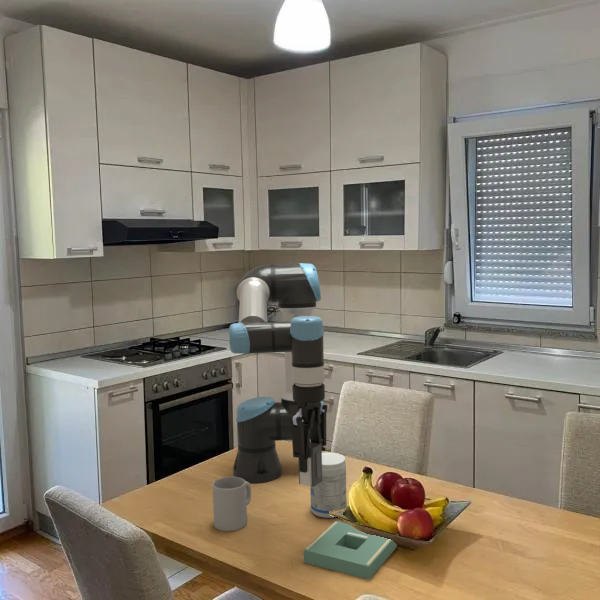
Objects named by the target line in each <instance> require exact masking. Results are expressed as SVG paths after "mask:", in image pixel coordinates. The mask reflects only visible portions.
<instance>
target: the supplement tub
mask: <svg viewBox="0 0 600 600" xmlns="http://www.w3.org/2000/svg"><path fill="white" fill-rule="evenodd" d="M309 487H310V489H309V490H310V510H311V512H312V514H314V515H315V516H316V517H319V518H322V519H323V518H324V519H334V517H332V516H330V515H329V511H333V510H337V509H342V508H345V507H346V508H347V462H346V457H345V455H342V454H341V453H337V452H326V451H324V452H322V482H320V483H319V484H317V485H316V486H314V487H312V486H309Z"/></svg>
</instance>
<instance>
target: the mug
mask: <svg viewBox="0 0 600 600" xmlns="http://www.w3.org/2000/svg"><path fill="white" fill-rule="evenodd" d="M211 486H212V504H213V505H212V506H213V509H212V510H213V526H214V528H215V529H217V530H218V531H221V532H235V531H239V530H242V529H244V528H245V527H246V526H247V524H248V510H247V506H249V504H250V502H251V498H252V488H251V484H250V483H248V482H247V481H245V480H244V479H242V478H239V477H234V476H225V477H220V478H218V479H215V480H214V481H213V482H212V485H211Z"/></svg>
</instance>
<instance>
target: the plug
mask: <svg viewBox="0 0 600 600" xmlns="http://www.w3.org/2000/svg"><path fill="white" fill-rule="evenodd" d="M322 453H323V451H322V446H321V444H319V443H312V442H311V441H310V448H309V457H310V458H311V476H312V485H311V486H312V487H314V486H316V485H317V484H319V483H320V482H322ZM297 459H298V463H299V458H297ZM299 468H300V467H299V466H298V484H299V485H301V484H300V469H299Z"/></svg>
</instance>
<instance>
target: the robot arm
mask: <svg viewBox="0 0 600 600" xmlns="http://www.w3.org/2000/svg"><path fill="white" fill-rule="evenodd" d="M320 285H321V284H320V279H319V276H318V272H317V268H316V266H315V265H314V264H312V263H306V262H305V263H302V262H299V263H277V264H276V263H275V264H273V263H272V264H270V263H269V264H267V263H266V264H262V265H259V266H256V267H254V268H252V269H251V270H249V271H247V273H245V274H244V275H243V276H242V278H240V280H239V282H238V284H237V288H236V297H237V300H238V301H239V305H238V308H239V310H238V314H239V315H238V322H237V323H232V324H231V323H230V326H229V327H228V329H229V332H228V335H229V337H228V338H229V340H228V341H229V349H230V352H231V353H233V354H240V355H241V354H243V355H248V354H249V355H250V354H263V353H264V354H265V353H268V354H269V353H284V369H285V371H284V372H285V379H284V380H285V391H284V392H283V394H281V396H280V400H281V401H279V402H278V401H277V402H275V399H274V398H273V397H271V396H258V397H253V398H249V399H245V400H244V401H242V402H240V403H239V404H238V406H237V407H236V417H235V421H236V422H237V423H236V426H237V428H236V430H237V431H236V432H237V434H236V435H237V452H236V453H237V454H236V456H235V460H234V464H233V467H232V475H233V476H232V477H239V478H242V479H244V480H245V481H247V482H248V483H249V484H250V483H251V484H257V483H267V482H271V481H274V480H276V479H278V478H280V477H281V475H282V474H283V465H282V462H281V460H280V457H279V454H278V451H277V448H276V442H277V441H280V442H281V441H292V456H293V458H297V459H298V458H299V462H298V470H299V469H300V484H299V485H303V486H306V487H307V486H308V487H310V486H311V485H312V476H311V458H310V457H309V448H310V442H312V443H319V444H321V446H322V452H326V446H327V412H328V404H324V400H325V399H326V395H325V394H326V391H325V389H326V388H325V385H326V384H324V382H325V381H326V379H325V361H324V359H325V358H324V334H325V330H324V322H323V319H322V318H321V317H320V316H315V315H313V316H312V312H314V311H315V309H316V308H317V302H320V301H321V299H322V296H321V295H322V294H321V286H320ZM267 303H272V304H274V303H277V305H278V306H277V307H278V308H277V309H278V310H279V311H280V312H282V314H283V321H268V308H267V307H268V305H267ZM299 467H300V468H299Z"/></svg>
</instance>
